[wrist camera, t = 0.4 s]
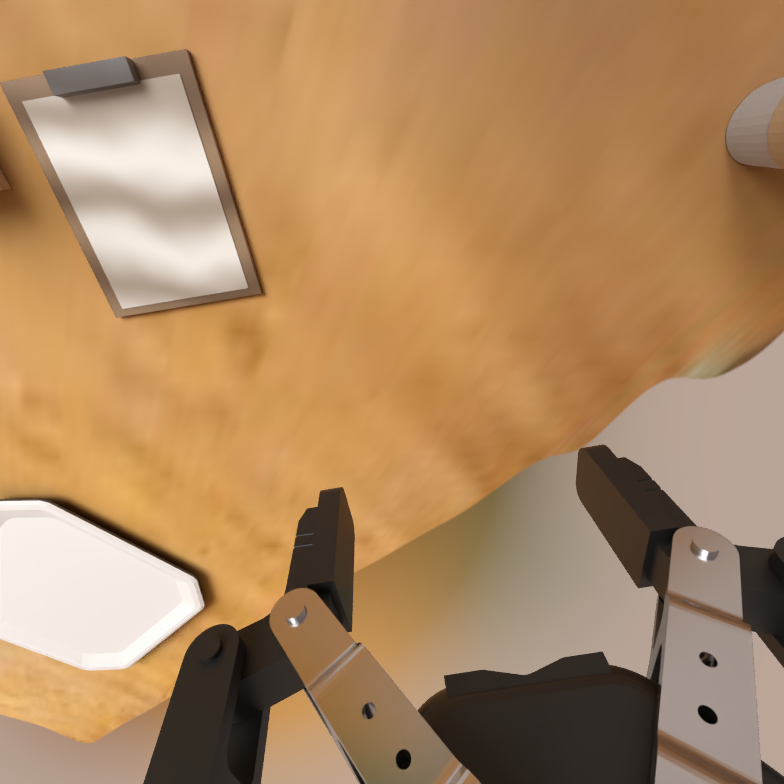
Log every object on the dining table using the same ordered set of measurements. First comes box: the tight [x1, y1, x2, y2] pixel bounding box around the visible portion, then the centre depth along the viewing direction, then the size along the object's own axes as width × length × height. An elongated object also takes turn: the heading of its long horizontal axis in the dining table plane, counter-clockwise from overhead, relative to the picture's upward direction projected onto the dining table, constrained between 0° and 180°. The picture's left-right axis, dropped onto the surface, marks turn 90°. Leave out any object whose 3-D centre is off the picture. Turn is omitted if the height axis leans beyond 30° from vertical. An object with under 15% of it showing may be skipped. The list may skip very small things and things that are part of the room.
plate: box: [0, 499, 205, 671], centre depth 55 cm, size 29×29×2 cm
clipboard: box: [0, 49, 262, 318], centre depth 33 cm, size 18×14×2 cm
